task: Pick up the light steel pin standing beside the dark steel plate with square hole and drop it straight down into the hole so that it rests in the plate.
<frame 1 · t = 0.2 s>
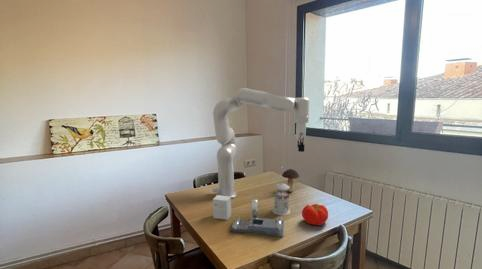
hand: (300, 149, 154), 31 cm above the table, tool pointing down, fingers open, 9 cm apart
tomato: (315, 223, 133), on the table
steel pin: (254, 218, 138), on the table
decorative mushroom: (290, 191, 173), on the table
french press: (281, 210, 147), on the table
plate with square hole: (257, 229, 127), on the table
small box: (222, 217, 140), on the table
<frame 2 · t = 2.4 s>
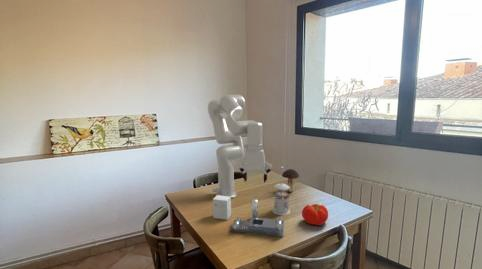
hand: (255, 181, 134), 20 cm above the table, tool pointing down, fingers open, 9 cm apart
nothing on the table moved.
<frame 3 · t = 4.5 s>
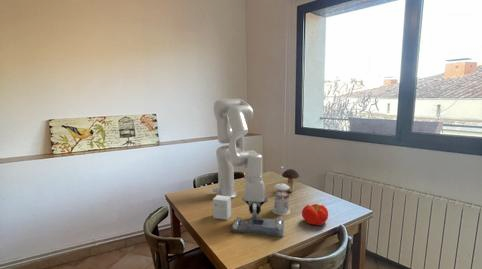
hand: (254, 212, 137), 3 cm above the table, tool pointing down, fingers closed on steel pin, 3 cm apart
steel pin: (254, 218, 138), on the table, touching gripper
everything else where it was.
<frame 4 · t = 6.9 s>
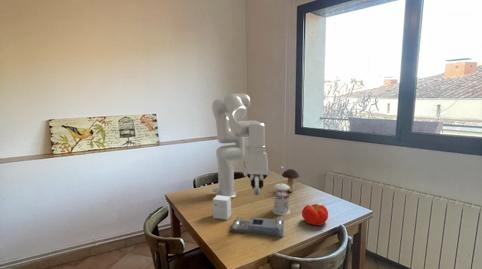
hand: (257, 187, 126), 20 cm above the table, tool pointing down, fingers closed on steel pin, 3 cm apart
steel pin: (257, 193, 127), point 17 cm above the table, touching gripper
everything else where it was.
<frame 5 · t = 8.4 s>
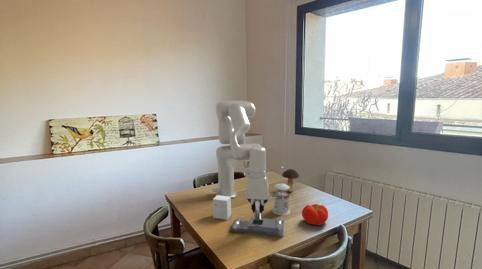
hand: (257, 211, 125), 9 cm above the table, tool pointing down, fingers closed on steel pin, 3 cm apart
steel pin: (257, 218, 126), point 6 cm above the table, touching gripper
everything else where it was.
when the fingers open (5 cm above the table, at t = 9.5 s): steel pin drops 2 cm, resting in plate with square hole.
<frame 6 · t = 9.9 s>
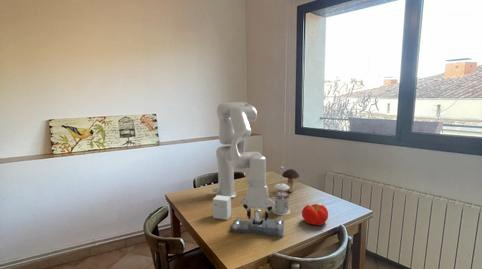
hand: (257, 218, 126), 6 cm above the table, tool pointing down, fingers open, 7 cm apart
steel pin: (257, 229, 127), resting in plate with square hole
everything else where it was.
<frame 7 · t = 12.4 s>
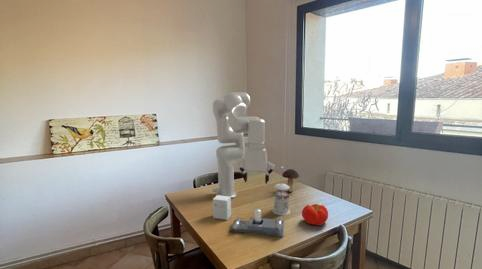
hand: (256, 181, 125), 23 cm above the table, tool pointing down, fingers open, 9 cm apart
nothing on the table moved.
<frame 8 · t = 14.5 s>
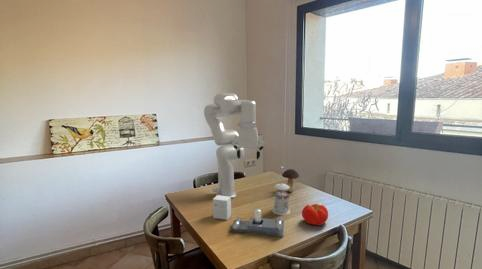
hand: (248, 158, 138), 30 cm above the table, tool pointing down, fingers open, 9 cm apart
nothing on the table moved.
at the end: steel pin 0.1 cm off-centre on the plate with square hole, point 0.0 cm above the plate with square hole's base; steel pin tilted 0°; the gripper is holding nothing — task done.
